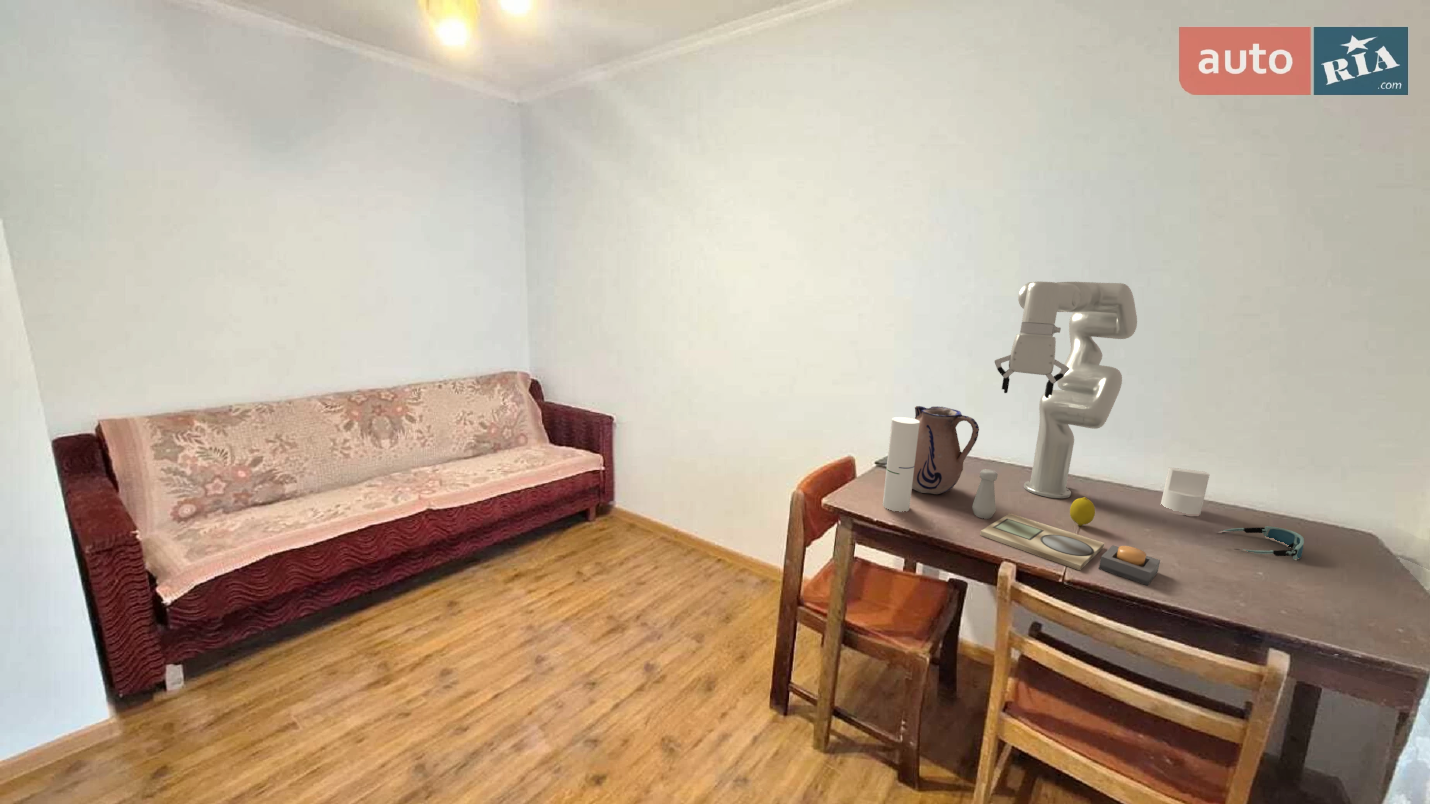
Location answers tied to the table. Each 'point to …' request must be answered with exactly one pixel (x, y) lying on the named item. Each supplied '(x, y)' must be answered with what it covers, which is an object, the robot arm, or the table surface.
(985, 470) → the salt shaker
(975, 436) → the ceramic pitcher
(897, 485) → the cylindrical container
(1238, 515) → the table surface
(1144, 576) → the button housing
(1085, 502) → the lemon
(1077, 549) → the picture board
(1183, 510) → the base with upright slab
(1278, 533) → the sunglasses
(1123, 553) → the button
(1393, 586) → the table surface
